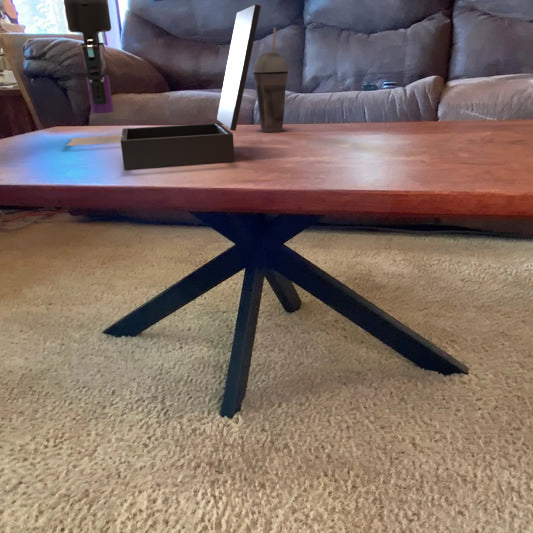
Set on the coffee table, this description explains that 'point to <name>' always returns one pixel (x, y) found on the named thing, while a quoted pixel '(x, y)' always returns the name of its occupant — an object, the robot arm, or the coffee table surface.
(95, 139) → the cork mat
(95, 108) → the purple cylinder
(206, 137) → the box
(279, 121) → the beverage cup
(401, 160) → the coffee table surface
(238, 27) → the lid
